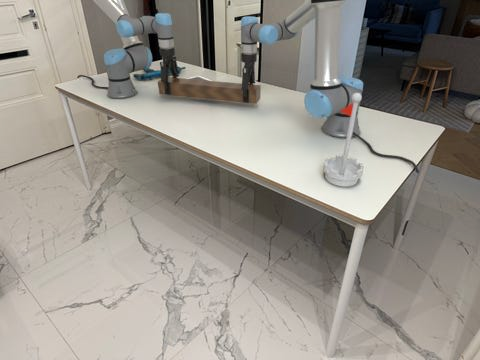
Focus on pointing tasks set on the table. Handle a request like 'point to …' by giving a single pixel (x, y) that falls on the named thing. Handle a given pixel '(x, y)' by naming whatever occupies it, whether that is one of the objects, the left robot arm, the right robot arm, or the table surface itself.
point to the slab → (210, 90)
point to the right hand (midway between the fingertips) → (248, 99)
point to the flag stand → (345, 155)
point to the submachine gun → (152, 73)
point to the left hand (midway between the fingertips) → (171, 91)
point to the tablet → (199, 78)
